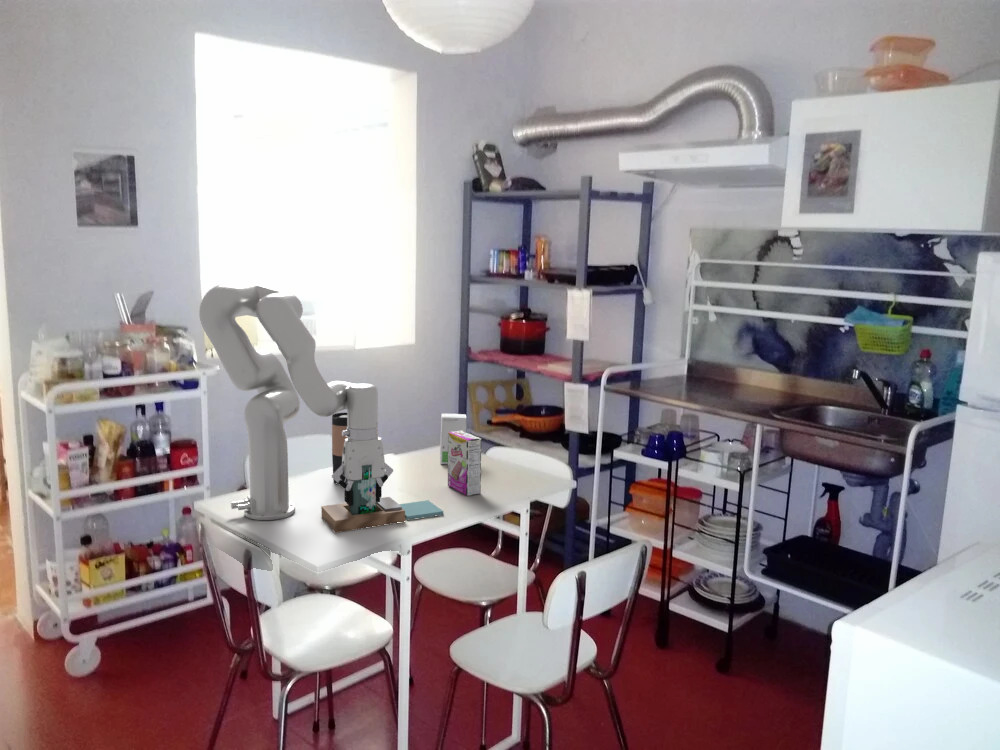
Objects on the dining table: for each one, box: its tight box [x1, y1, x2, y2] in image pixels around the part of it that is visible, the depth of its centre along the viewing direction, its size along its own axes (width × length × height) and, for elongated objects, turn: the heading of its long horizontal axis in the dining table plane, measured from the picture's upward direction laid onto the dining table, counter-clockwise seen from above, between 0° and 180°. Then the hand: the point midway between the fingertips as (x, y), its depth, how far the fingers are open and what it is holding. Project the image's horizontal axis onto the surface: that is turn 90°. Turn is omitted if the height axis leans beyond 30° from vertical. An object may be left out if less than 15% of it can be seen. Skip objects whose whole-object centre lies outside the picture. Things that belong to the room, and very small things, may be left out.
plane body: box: [320, 496, 406, 533], centre depth 199 cm, size 18×12×4 cm, turn 118°
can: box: [350, 465, 376, 515], centre depth 198 cm, size 6×6×15 cm
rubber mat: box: [398, 499, 444, 521], centre depth 206 cm, size 10×10×1 cm
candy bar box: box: [447, 430, 482, 497], centre depth 224 cm, size 11×5×16 cm, turn 34°
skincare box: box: [439, 413, 468, 465], centre depth 254 cm, size 8×7×16 cm
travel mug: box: [331, 412, 347, 485], centre depth 230 cm, size 8×8×20 cm
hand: (363, 502), depth 199 cm, fingers closed on can, 6 cm apart
